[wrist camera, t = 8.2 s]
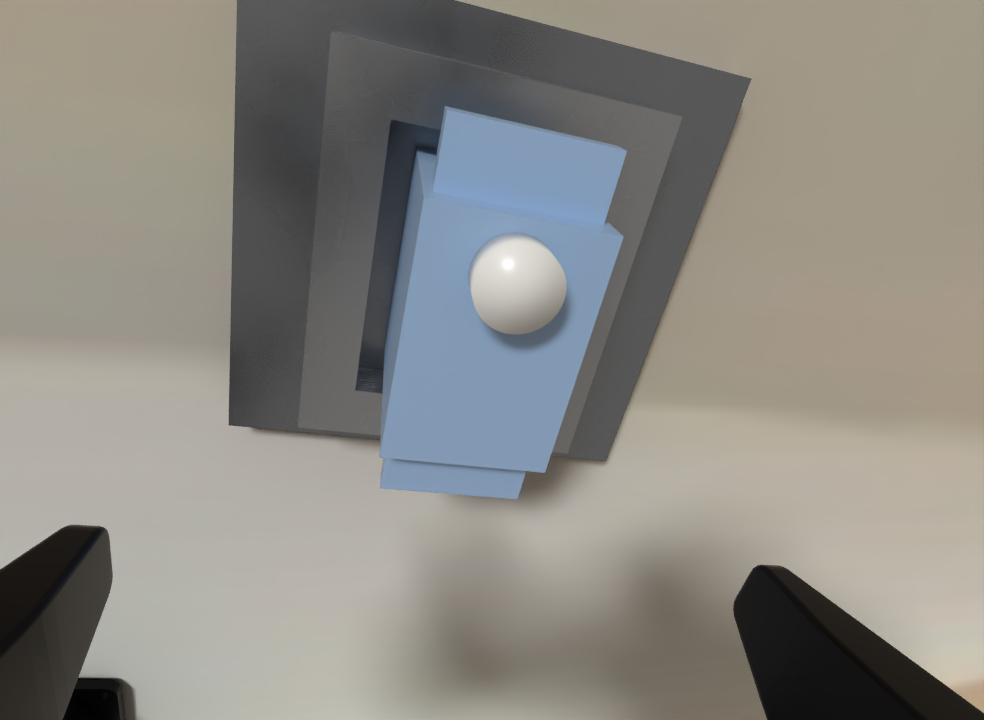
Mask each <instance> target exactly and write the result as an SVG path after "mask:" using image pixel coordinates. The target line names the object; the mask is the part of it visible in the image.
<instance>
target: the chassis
mask: <svg viewBox="0 0 984 720" xmlns="http://www.w3.org/2000/svg"><path fill="white" fill-rule="evenodd" d="M750 81H751V79H750V78H747V77H743V76H739V75H735V74H731V73H728V72H724V71H720V70H716V69H713V68H709V67H705V66H701V65H697V64H694V63H690V62H686V61H682V60H678V59H675V58H671V57H667V56H663V55H660V54H656V53H652V52H648V51H644V50H641V49H637V48H633V47H629V46H625V45H622V44H618V43H614V42H610V41H607V40H603V39H599V38H595V37H591V36H588V35H584V34H580V33H576V32H573V31H569V30H565V29H561V28H557V27H554V26H550V25H546V24H542V23H538V22H535V21H531V20H527V19H523V18H520V17H516V16H512V15H508V14H504V13H501V12H497V11H493V10H489V9H485V8H482V7H478V6H474V5H470V4H467V3H463V2H459V1H455V0H237V33H236V84H235V134H234V185H233V235H232V286H231V336H230V387H229V425H233V426H243V427H254V428H264V429H274V430H285V431H295V432H306V433H316V434H327V435H337V436H348V437H358V438H369V439H379V440H380V437H381V415H382V394H383V372H384V351H385V341H386V335H387V329H388V322H389V316H390V310H391V304H392V297H393V291H394V285H395V278H396V272H397V266H398V260H399V253H400V247H401V241H402V234H403V228H404V222H405V216H406V209H407V203H408V197H409V191H410V184H411V178H412V172H413V165H414V159H415V153H416V147H420V148H424V149H429V150H434V151H437V149H438V144H439V138H440V132H441V126H442V121H443V115H444V109H445V106H447V107H451V108H455V109H460V110H464V111H468V112H473V113H477V114H482V115H486V116H490V117H495V118H499V119H503V120H508V121H512V122H516V123H521V124H525V125H529V126H534V127H538V128H543V129H547V130H551V131H556V132H560V133H564V134H569V135H573V136H577V137H582V138H586V139H590V140H595V141H599V142H604V143H608V144H612V145H617V146H619V147H621V148H623V149H625V150H626V151H627V153H626V156H625V159H624V163H623V166H622V169H621V172H620V175H619V178H618V182H617V185H616V188H615V191H614V194H613V197H612V201H611V204H610V207H609V210H608V213H607V217H606V221H607V222H608V223H610V224H611V225H612V226H613V227H614V228H615V229H616V230H617V231H618V232H619V233H620V234H621V235H623V236H624V237H623V240H622V243H621V246H620V249H619V252H618V255H617V258H616V261H615V264H614V267H613V270H612V273H611V276H610V279H609V282H608V285H607V288H606V291H605V294H604V297H603V300H602V303H601V306H600V309H599V312H598V315H597V318H596V321H595V324H594V327H593V330H592V333H591V336H590V339H589V342H588V345H587V348H586V351H585V354H584V357H583V360H582V363H581V366H580V369H579V372H578V375H577V378H576V381H575V384H574V387H573V390H572V393H571V396H570V399H569V402H568V405H567V408H566V411H565V414H564V417H563V420H562V423H561V426H560V429H559V432H558V435H557V438H556V441H555V444H554V447H553V450H552V453H551V456H558V457H568V458H579V459H589V460H600V461H606V459H607V457H608V454H609V451H610V449H611V446H612V444H613V441H614V438H615V436H616V433H617V430H618V428H619V425H620V423H621V420H622V417H623V415H624V412H625V409H626V407H627V404H628V402H629V399H630V396H631V394H632V391H633V388H634V386H635V383H636V380H637V378H638V375H639V373H640V370H641V367H642V365H643V362H644V359H645V357H646V354H647V352H648V349H649V346H650V344H651V341H652V338H653V336H654V333H655V331H656V328H657V325H658V323H659V320H660V317H661V315H662V312H663V310H664V307H665V304H666V302H667V299H668V296H669V294H670V291H671V289H672V286H673V283H674V281H675V278H676V275H677V273H678V270H679V268H680V265H681V262H682V260H683V257H684V254H685V252H686V249H687V247H688V244H689V241H690V239H691V236H692V233H693V231H694V228H695V226H696V223H697V220H698V218H699V215H700V212H701V210H702V207H703V205H704V202H705V199H706V197H707V194H708V191H709V189H710V186H711V184H712V181H713V178H714V176H715V173H716V170H717V168H718V165H719V162H720V160H721V157H722V155H723V152H724V149H725V147H726V144H727V141H728V139H729V136H730V134H731V131H732V128H733V126H734V123H735V120H736V118H737V115H738V113H739V110H740V107H741V105H742V102H743V99H744V97H745V94H746V92H747V89H748V86H749V84H750Z"/></svg>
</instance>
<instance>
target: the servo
mask: <svg viewBox="0 0 984 720" xmlns="http://www.w3.org/2000/svg"><path fill="white" fill-rule="evenodd" d="M626 153H627V151H626V150H625V149H623V148H621V147H619V146H617V145H612V144H608V143H604V142H599V141H595V140H590V139H586V138H582V137H577V136H573V135H569V134H564V133H560V132H556V131H551V130H547V129H543V128H538V127H534V126H529V125H525V124H521V123H516V122H512V121H508V120H503V119H499V118H495V117H490V116H486V115H482V114H477V113H473V112H468V111H464V110H460V109H455V108H451V107H447V106H445V109H444V115H443V121H442V126H441V132H440V138H439V144H438V149H437V151H434V150H429V149H424V148H420V147H416V153H415V159H414V165H413V172H412V178H411V184H410V191H409V197H408V203H407V209H406V216H405V222H404V228H403V234H402V241H401V247H400V253H399V260H398V266H397V272H396V278H395V285H394V291H393V297H392V304H391V310H390V316H389V322H388V329H387V335H386V341H385V351H384V372H383V394H382V415H381V437H380V458H383V464H382V469H381V483H380V488H384V489H396V490H408V491H420V492H433V493H445V494H457V495H469V496H482V497H494V498H506V499H518V496H519V493H520V490H521V487H522V484H523V480H524V477H525V474H526V471H530V472H541V473H545V471H546V468H547V465H548V462H549V459H550V456H551V453H552V450H553V447H554V444H555V441H556V438H557V435H558V432H559V429H560V426H561V423H562V420H563V417H564V414H565V411H566V408H567V405H568V402H569V399H570V396H571V393H572V390H573V387H574V384H575V381H576V378H577V375H578V372H579V369H580V366H581V363H582V360H583V357H584V354H585V351H586V348H587V345H588V342H589V339H590V336H591V333H592V330H593V327H594V324H595V321H596V318H597V315H598V312H599V309H600V306H601V303H602V300H603V297H604V294H605V291H606V288H607V285H608V282H609V279H610V276H611V273H612V270H613V267H614V264H615V261H616V258H617V255H618V252H619V249H620V246H621V243H622V240H623V237H624V236H623V235H621V234H620V233H619V232H618V231H617V230H616V229H615V228H614V227H613V226H612V225H611V224H610V223H608V222H607V221H606V217H607V213H608V210H609V207H610V204H611V201H612V197H613V194H614V191H615V188H616V185H617V182H618V178H619V175H620V172H621V169H622V166H623V163H624V159H625V156H626Z"/></svg>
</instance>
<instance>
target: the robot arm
mask: <svg viewBox="0 0 984 720" xmlns="http://www.w3.org/2000/svg"><path fill="white" fill-rule="evenodd" d="M112 577H113V574H112V562H111V551H110V540H109V534H108V531H107V530H106V529H105V528H104V527H101V526H86V525H68V526H66V527H63V528H62V529H60V530H58V531H57V532H55V533H54V534H52V535H51V536H49V537H48V538H46V539H45V540H43V541H42V542H40V543H39V544H37V545H36V546H34V547H33V548H31V549H30V550H29V551H27V552H26V553H24V554H23V555H21V556H20V557H18V558H17V559H15V560H14V561H12V562H11V563H9V564H8V565H6V566H5V567H3V568H2V569H0V720H125V715H124V706H123V696H122V687H121V685H120V684H119V683H118V682H116V681H113V680H78V677H79V674H80V671H81V669H82V666H83V663H84V661H85V658H86V655H87V653H88V650H89V647H90V644H91V642H92V639H93V636H94V634H95V631H96V628H97V626H98V623H99V620H100V618H101V615H102V612H103V609H104V607H105V604H106V601H107V599H108V596H109V593H110V589H111V585H112ZM733 611H734V617H735V621H736V624H737V627H738V630H739V634H740V637H741V640H742V643H743V646H744V649H745V652H746V656H747V659H748V662H749V665H750V668H751V671H752V675H753V678H754V681H755V684H756V687H757V690H758V693H759V697H760V700H761V703H762V706H763V709H764V712H765V714H766V717H767V720H984V713H983V712H981V711H980V710H979V709H977V708H976V707H975V706H973V705H972V704H970V703H969V702H968V701H966V700H965V699H964V698H962V697H961V696H960V695H958V694H957V693H955V692H954V691H953V690H951V689H950V688H949V687H947V686H946V685H945V684H943V683H942V682H940V681H939V680H938V679H936V678H935V677H934V676H932V675H931V674H930V673H928V672H927V671H925V670H924V669H923V668H921V667H920V666H919V665H917V664H916V663H915V662H913V661H912V660H910V659H909V658H908V657H906V656H905V655H904V654H902V653H901V652H900V651H898V650H897V649H896V648H894V647H893V646H891V645H890V644H889V643H887V642H886V641H885V640H883V639H882V638H881V637H879V636H878V635H876V634H875V633H874V632H872V631H871V630H870V629H868V628H867V627H866V626H864V625H863V624H861V623H860V622H859V621H857V620H856V619H855V618H853V617H852V616H851V615H849V614H848V613H846V612H845V611H844V610H842V609H841V608H840V607H838V606H837V605H836V604H834V603H833V602H832V601H830V600H829V599H827V598H826V597H825V596H823V595H822V594H821V593H819V592H818V591H817V590H815V589H814V588H812V587H811V586H810V585H808V584H807V583H806V582H804V581H803V580H802V579H800V578H799V577H797V576H796V575H795V574H793V573H792V572H791V571H789V570H788V569H786V568H784V567H781V566H774V565H758V566H756V567H755V568H753V570H752V571H751V573H750V574H749V576H748V578H747V579H746V581H745V583H744V585H743V586H742V588H741V590H740V592H739V593H738V595H737V597H736V599H735V601H734V606H733Z"/></svg>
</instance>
